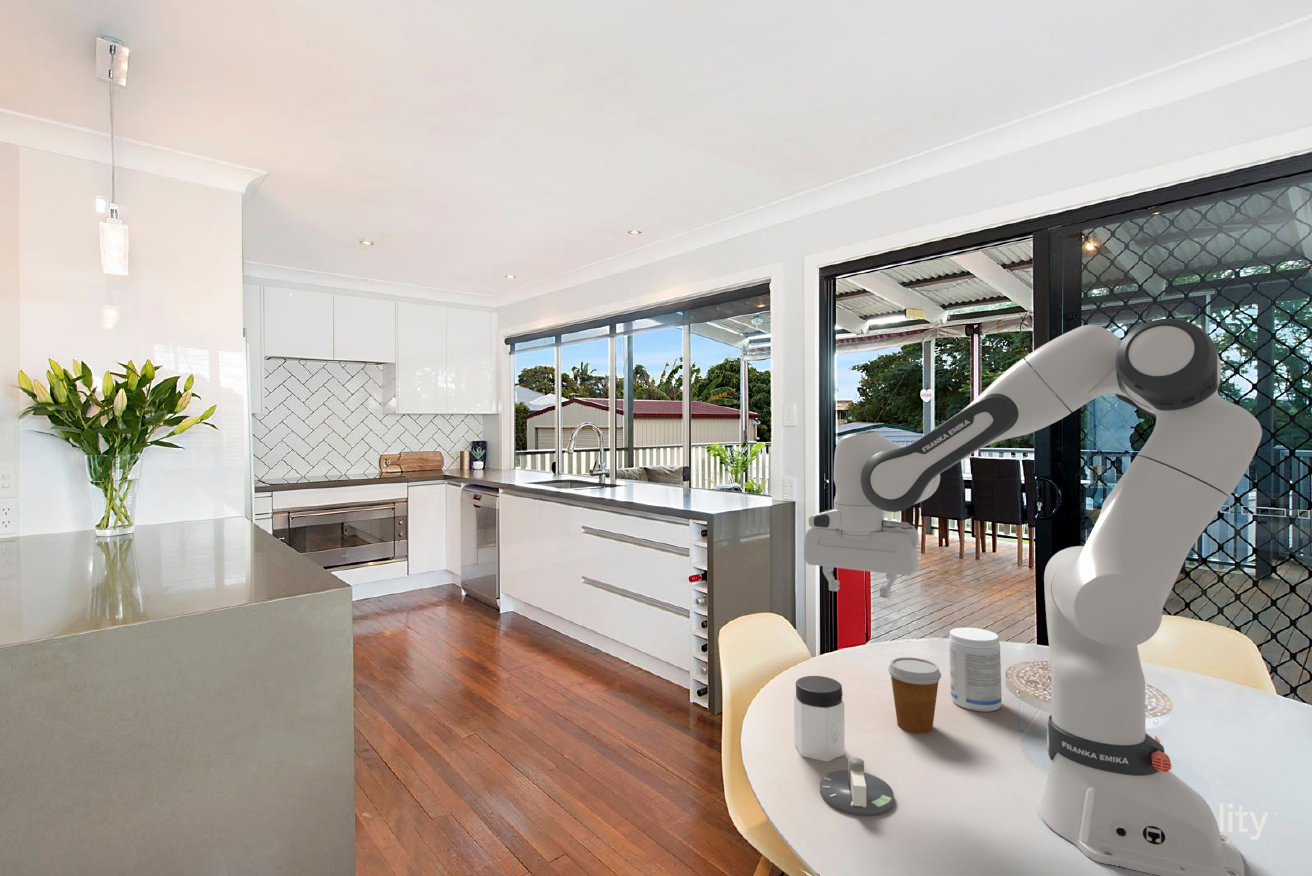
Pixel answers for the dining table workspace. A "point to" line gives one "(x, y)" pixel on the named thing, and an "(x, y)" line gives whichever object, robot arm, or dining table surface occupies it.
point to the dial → (841, 797)
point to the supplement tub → (975, 669)
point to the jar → (819, 718)
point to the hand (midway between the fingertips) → (859, 593)
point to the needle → (857, 781)
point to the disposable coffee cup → (914, 692)
